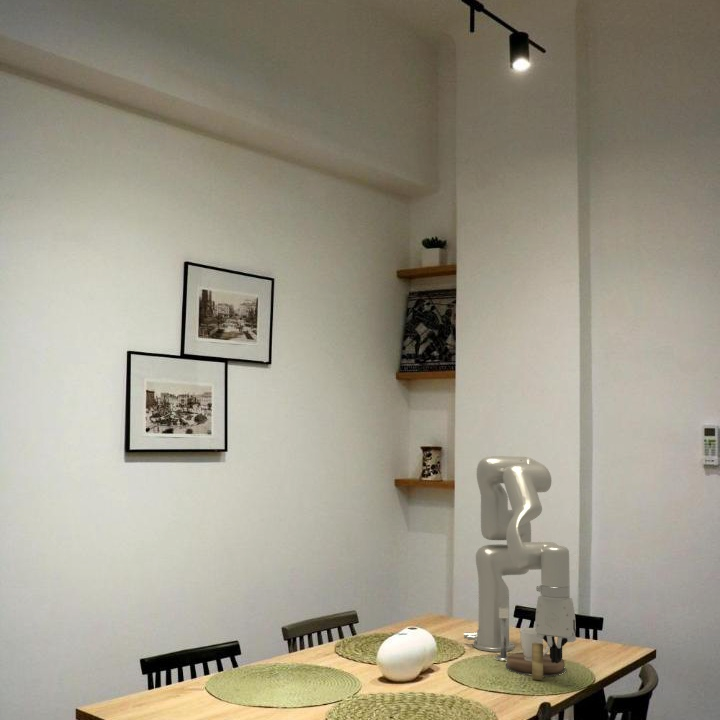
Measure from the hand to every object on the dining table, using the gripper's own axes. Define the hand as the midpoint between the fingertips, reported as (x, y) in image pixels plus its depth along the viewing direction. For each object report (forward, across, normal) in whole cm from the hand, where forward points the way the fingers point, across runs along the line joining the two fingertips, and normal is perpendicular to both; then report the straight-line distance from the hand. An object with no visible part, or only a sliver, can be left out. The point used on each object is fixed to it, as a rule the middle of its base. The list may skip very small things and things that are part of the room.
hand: (556, 661), depth 229 cm
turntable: (+5, -9, +9) cm, 14 cm away
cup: (+3, -10, +12) cm, 16 cm away
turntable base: (+5, -10, +12) cm, 16 cm away
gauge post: (+5, -21, +15) cm, 27 cm away
